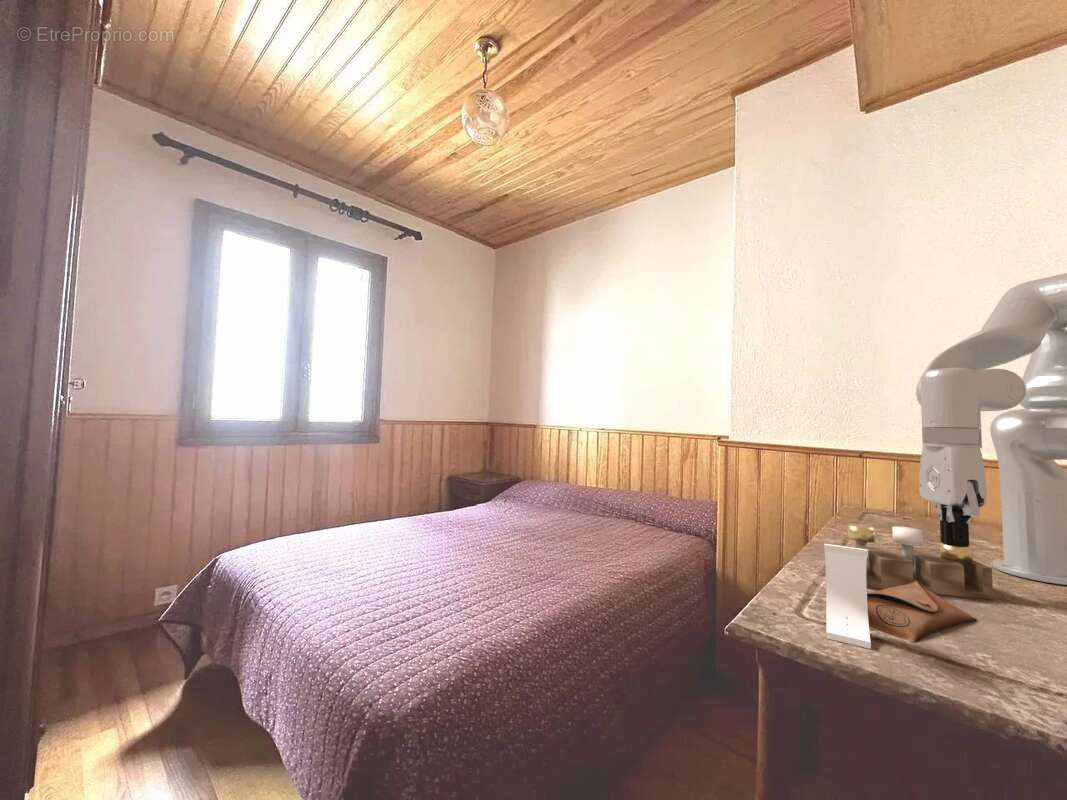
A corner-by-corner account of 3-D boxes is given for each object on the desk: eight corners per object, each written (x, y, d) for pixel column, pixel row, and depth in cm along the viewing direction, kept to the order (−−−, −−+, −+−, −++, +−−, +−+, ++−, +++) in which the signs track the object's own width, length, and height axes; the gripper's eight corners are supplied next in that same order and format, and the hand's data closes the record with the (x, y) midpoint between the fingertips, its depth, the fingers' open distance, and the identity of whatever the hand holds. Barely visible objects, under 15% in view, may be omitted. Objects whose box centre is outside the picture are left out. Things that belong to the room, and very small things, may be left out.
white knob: (915, 563, 78) (914, 527, 78) (928, 570, 74) (927, 532, 74) (889, 560, 79) (887, 525, 79) (900, 567, 75) (899, 530, 75)
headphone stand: (826, 638, 56) (823, 544, 57) (826, 621, 61) (824, 535, 62) (871, 649, 54) (868, 550, 54) (868, 630, 59) (865, 540, 59)
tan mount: (959, 582, 78) (958, 554, 78) (993, 599, 70) (991, 568, 70) (837, 571, 83) (837, 544, 83) (856, 586, 75) (855, 556, 75)
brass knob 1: (869, 559, 80) (868, 524, 80) (880, 565, 76) (879, 529, 76) (844, 557, 81) (843, 522, 81) (854, 563, 77) (853, 527, 77)
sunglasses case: (916, 644, 55) (883, 588, 58) (863, 651, 60) (836, 599, 63) (980, 619, 62) (948, 571, 66) (929, 627, 68) (901, 582, 71)
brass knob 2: (963, 579, 76) (962, 542, 76) (980, 587, 72) (978, 549, 72) (936, 576, 77) (934, 540, 77) (950, 584, 73) (949, 546, 73)
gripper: (902, 437, 84) (904, 533, 83) (952, 439, 70) (956, 555, 69) (949, 438, 82) (952, 536, 81) (1011, 440, 68) (1016, 560, 67)
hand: (954, 544), depth 75 cm, fingers closed
